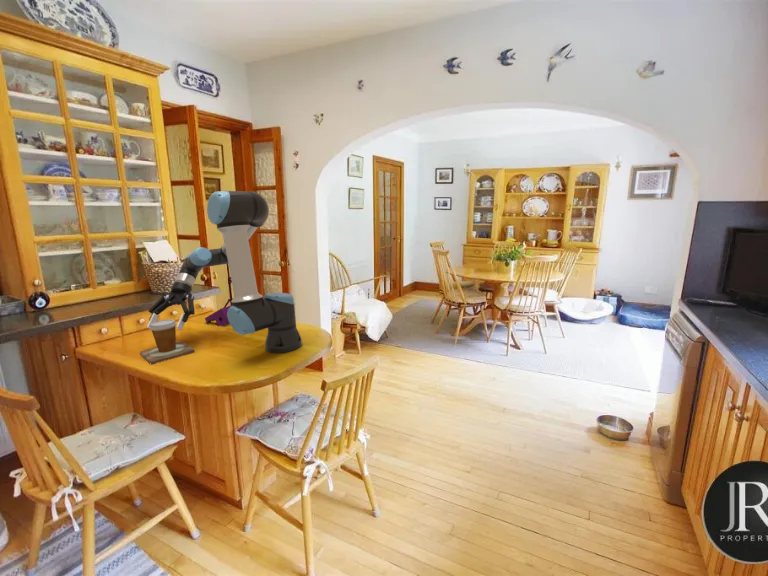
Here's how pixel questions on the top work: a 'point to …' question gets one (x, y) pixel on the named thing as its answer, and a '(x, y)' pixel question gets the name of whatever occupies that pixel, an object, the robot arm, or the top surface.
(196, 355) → the top surface
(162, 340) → the disposable coffee cup
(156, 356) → the coaster
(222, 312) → the mounting bracket
